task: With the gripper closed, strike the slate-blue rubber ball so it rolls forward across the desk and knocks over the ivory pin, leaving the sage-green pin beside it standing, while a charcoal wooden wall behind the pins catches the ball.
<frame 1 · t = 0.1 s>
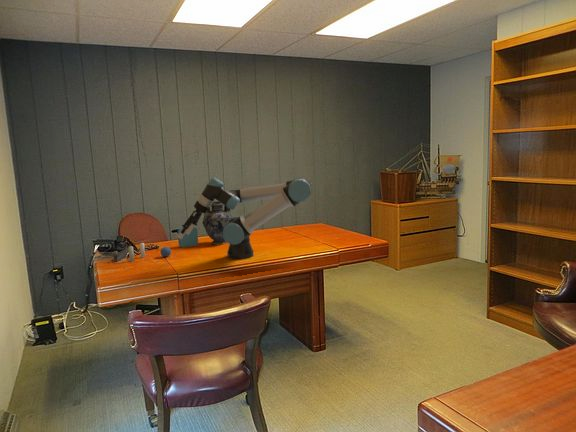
hand: (183, 235, 233), 15 cm above the table, tool tilted 35°, fingers open, 13 cm apart
sage pin: (132, 261, 245), on the table
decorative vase: (219, 243, 288), on the table
ivory pin: (143, 257, 253), on the table
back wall: (123, 257, 254), on the table
ball: (165, 251, 252), on the table
data package: (188, 246, 282), on the table
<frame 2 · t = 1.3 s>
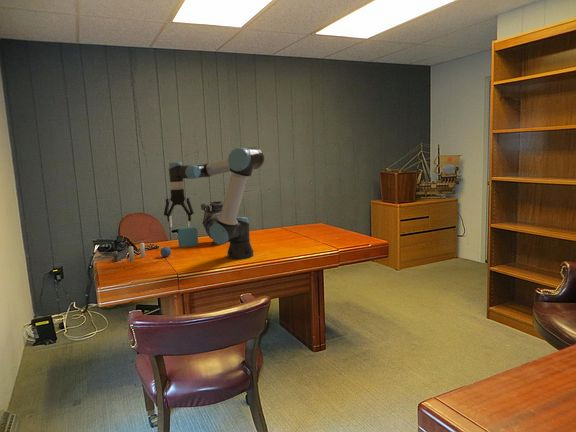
hand: (179, 226, 249), 18 cm above the table, tool pointing down, fingers open, 10 cm apart
nothing on the table moved.
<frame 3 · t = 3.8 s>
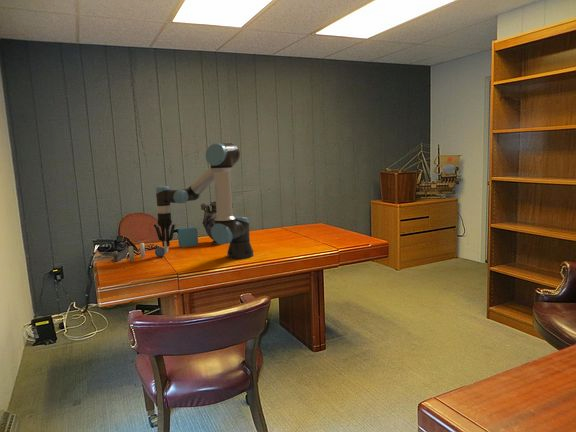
hand: (166, 251, 253), 3 cm above the table, tool pointing down, fingers closed
ball: (160, 251, 252), on the table
everything else where it was.
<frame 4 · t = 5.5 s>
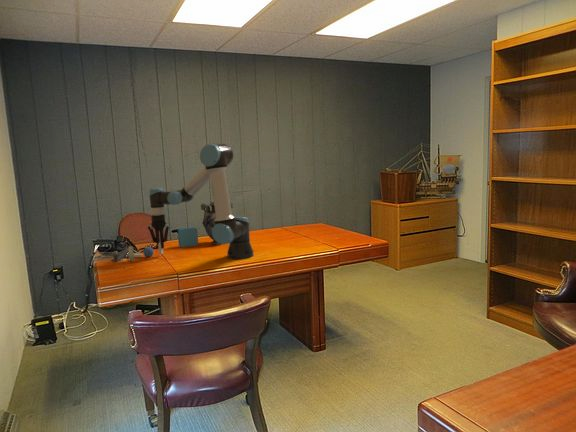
hand: (161, 253, 252), 2 cm above the table, tool pointing down, fingers closed
ivory pin: (140, 255, 253), point 1 cm above the table, tilted 90°
ball: (148, 252, 253), on the table
everything else where it was.
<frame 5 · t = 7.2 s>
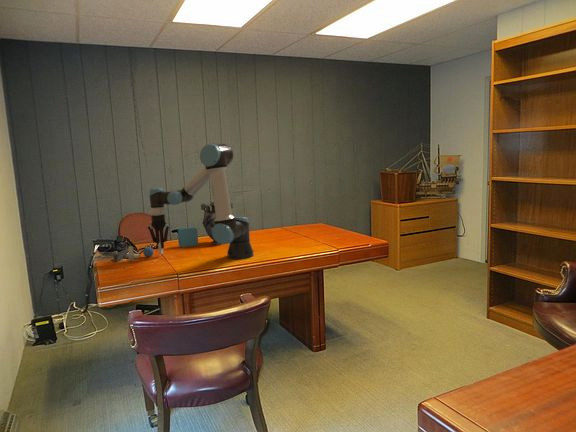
hand: (161, 253, 252), 2 cm above the table, tool pointing down, fingers closed
ivory pin: (139, 256, 252), point 1 cm above the table, tilted 90°
everything else where it was.
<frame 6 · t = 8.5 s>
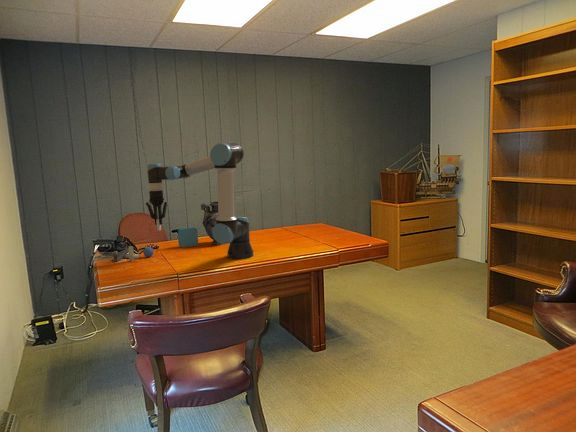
hand: (159, 230, 250), 16 cm above the table, tool pointing down, fingers closed
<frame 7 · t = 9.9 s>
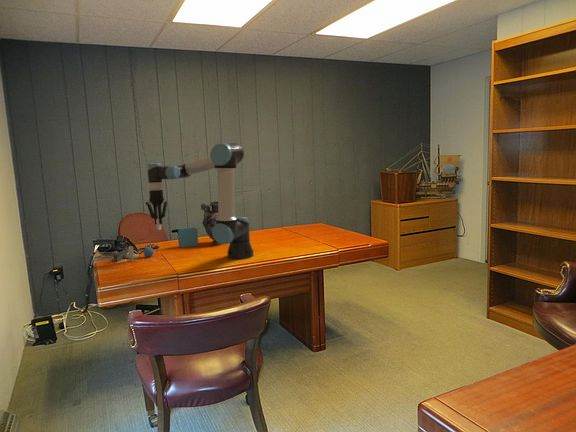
hand: (159, 229, 250), 16 cm above the table, tool pointing down, fingers closed
nothing on the table moved.
at the end: ivory pin tilted 90°; ivory pin never touched the robot; ball moved 10.7 cm from its start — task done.
